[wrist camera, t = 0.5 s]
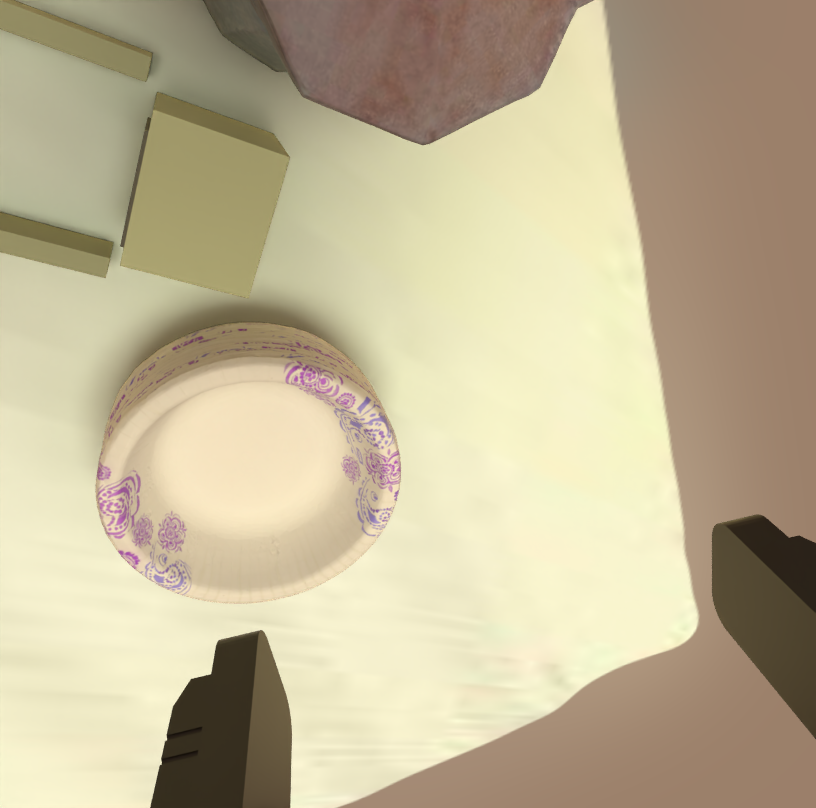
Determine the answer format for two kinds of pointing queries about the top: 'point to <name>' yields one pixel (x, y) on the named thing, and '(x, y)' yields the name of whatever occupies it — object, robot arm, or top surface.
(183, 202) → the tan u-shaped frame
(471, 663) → the top surface
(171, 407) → the paper bowls
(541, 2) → the moka pot
